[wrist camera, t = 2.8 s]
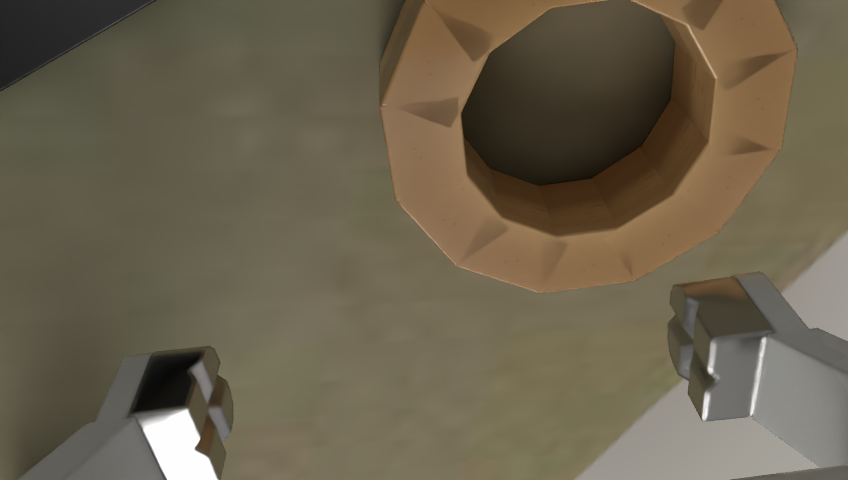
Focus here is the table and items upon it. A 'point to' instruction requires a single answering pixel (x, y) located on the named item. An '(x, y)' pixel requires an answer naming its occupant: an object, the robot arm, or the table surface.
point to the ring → (612, 188)
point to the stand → (52, 30)
